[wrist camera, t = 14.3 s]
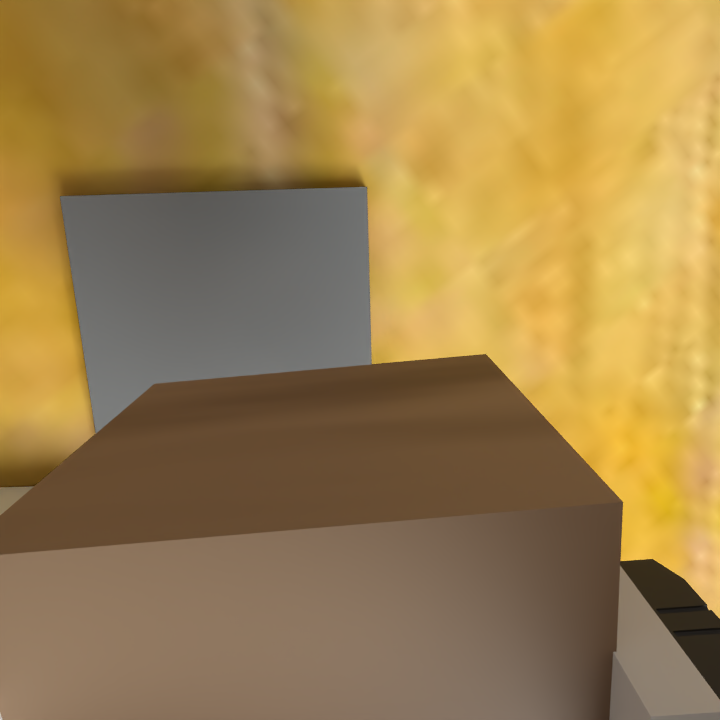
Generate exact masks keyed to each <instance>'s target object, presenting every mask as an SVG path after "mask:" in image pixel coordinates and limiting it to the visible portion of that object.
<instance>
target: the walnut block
mask: <svg viewBox="0 0 720 720" xmlns="http://www.w3.org/2000/svg"><path fill="white" fill-rule="evenodd" d="M622 510H623V502H622V501H621V500H620V498H619V497H618V496H617V495H616V494H615V493H614V492H613V491H612V490H611V489H610V488H609V487H608V485H607V484H606V483H605V482H604V481H603V480H602V479H601V478H600V477H599V476H598V475H597V474H596V473H595V471H594V470H593V469H592V468H591V467H590V466H589V465H588V464H587V463H586V462H585V461H584V460H583V458H582V457H581V456H580V455H579V454H578V453H577V452H576V451H575V450H574V449H573V448H572V447H571V446H570V444H569V443H568V442H567V441H566V440H565V439H564V438H563V437H562V436H561V435H560V434H559V433H558V431H557V430H556V429H555V428H554V427H553V426H552V425H551V424H550V423H549V422H548V421H547V420H546V419H545V417H544V416H543V415H542V414H541V413H540V412H539V411H538V410H537V409H536V408H535V407H534V406H533V405H532V403H531V402H530V401H529V400H528V399H527V398H526V397H525V396H524V395H523V394H522V393H521V392H520V390H519V389H518V388H517V387H516V386H515V385H514V384H513V383H512V382H511V381H510V380H509V379H508V378H507V376H506V375H505V374H504V373H503V372H502V371H501V370H500V369H499V368H498V367H497V366H496V365H495V363H494V362H493V361H492V360H491V359H490V358H489V357H488V356H487V355H486V354H483V355H472V356H460V357H449V358H438V359H427V360H415V361H404V362H393V363H382V364H370V365H359V366H348V367H337V368H326V369H314V370H303V371H292V372H281V373H269V374H258V375H247V376H236V377H224V378H213V379H202V380H191V381H179V382H168V383H157V384H153V385H152V386H151V387H150V388H149V389H148V390H146V391H145V392H144V393H143V394H142V395H141V396H139V397H138V398H137V399H136V400H135V401H134V402H132V403H131V404H130V405H129V406H128V407H126V408H125V409H124V410H123V411H122V412H121V413H119V414H118V415H117V416H116V417H115V418H114V419H112V420H111V421H110V422H109V423H108V424H107V425H105V426H104V427H103V428H102V429H101V430H100V431H98V432H97V433H96V434H95V435H94V436H93V437H91V438H90V439H89V440H88V441H87V442H86V443H84V444H83V445H82V446H81V447H80V448H79V449H77V450H76V451H75V452H74V453H73V454H71V455H70V456H69V457H68V458H67V459H66V460H64V461H63V462H62V463H61V464H60V465H59V466H57V467H56V468H55V469H54V470H53V471H52V472H50V473H49V474H48V475H47V476H46V477H45V478H43V479H42V480H41V481H40V482H39V483H38V484H36V485H35V486H34V487H33V488H32V489H31V490H29V491H28V492H27V493H26V494H25V495H24V496H22V497H21V498H20V499H19V500H18V501H16V502H15V503H14V504H13V505H12V506H11V507H9V508H8V509H7V510H6V511H5V512H4V513H2V514H1V515H0V714H1V717H2V720H609V717H610V699H611V681H612V663H613V652H617V629H618V605H619V581H620V557H621V534H622Z"/></svg>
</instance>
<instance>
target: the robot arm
mask: <svg viewBox="0 0 720 720" xmlns="http://www.w3.org/2000/svg"><path fill="white" fill-rule="evenodd" d="M0 720H2V717H1V714H0ZM609 720H720V619H719V618H718V617H717V616H716V615H715V613H714V612H713V611H712V610H708V608H707V604H706V603H705V602H704V601H703V600H702V599H701V598H700V597H699V595H698V594H697V593H696V592H695V591H694V590H693V589H692V588H691V586H690V585H689V584H688V583H687V582H686V581H685V580H684V579H683V578H681V577H680V576H678V575H677V574H675V573H674V572H672V571H670V570H669V569H667V568H666V567H664V566H663V565H661V564H659V563H658V562H656V561H655V560H653V559H647V560H633V561H620V581H619V605H618V629H617V652H613V663H612V681H611V699H610V717H609Z"/></svg>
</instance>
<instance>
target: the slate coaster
mask: <svg viewBox="0 0 720 720" xmlns="http://www.w3.org/2000/svg"><path fill="white" fill-rule="evenodd" d="M60 200H61V207H62V213H63V220H64V226H65V233H66V240H67V246H68V253H69V259H70V266H71V273H72V279H73V286H74V292H75V299H76V306H77V312H78V319H79V325H80V332H81V339H82V345H83V352H84V359H85V365H86V372H87V378H88V385H89V392H90V398H91V405H92V411H93V418H94V425H95V431H96V433H97V432H98V431H100V430H101V429H102V428H103V427H104V426H105V425H107V424H108V423H109V422H110V421H111V420H112V419H114V418H115V417H116V416H117V415H118V414H119V413H121V412H122V411H123V410H124V409H125V408H126V407H128V406H129V405H130V404H131V403H132V402H134V401H135V400H136V399H137V398H138V397H139V396H141V395H142V394H143V393H144V392H145V391H146V390H148V389H149V388H150V387H151V386H152V385H153V384H157V383H168V382H179V381H191V380H202V379H213V378H224V377H236V376H247V375H258V374H269V373H281V372H292V371H303V370H314V369H326V368H337V367H348V366H359V365H370V364H371V325H370V286H369V247H368V208H367V187H346V188H313V189H280V190H248V191H215V192H182V193H150V194H117V195H84V196H60Z"/></svg>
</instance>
